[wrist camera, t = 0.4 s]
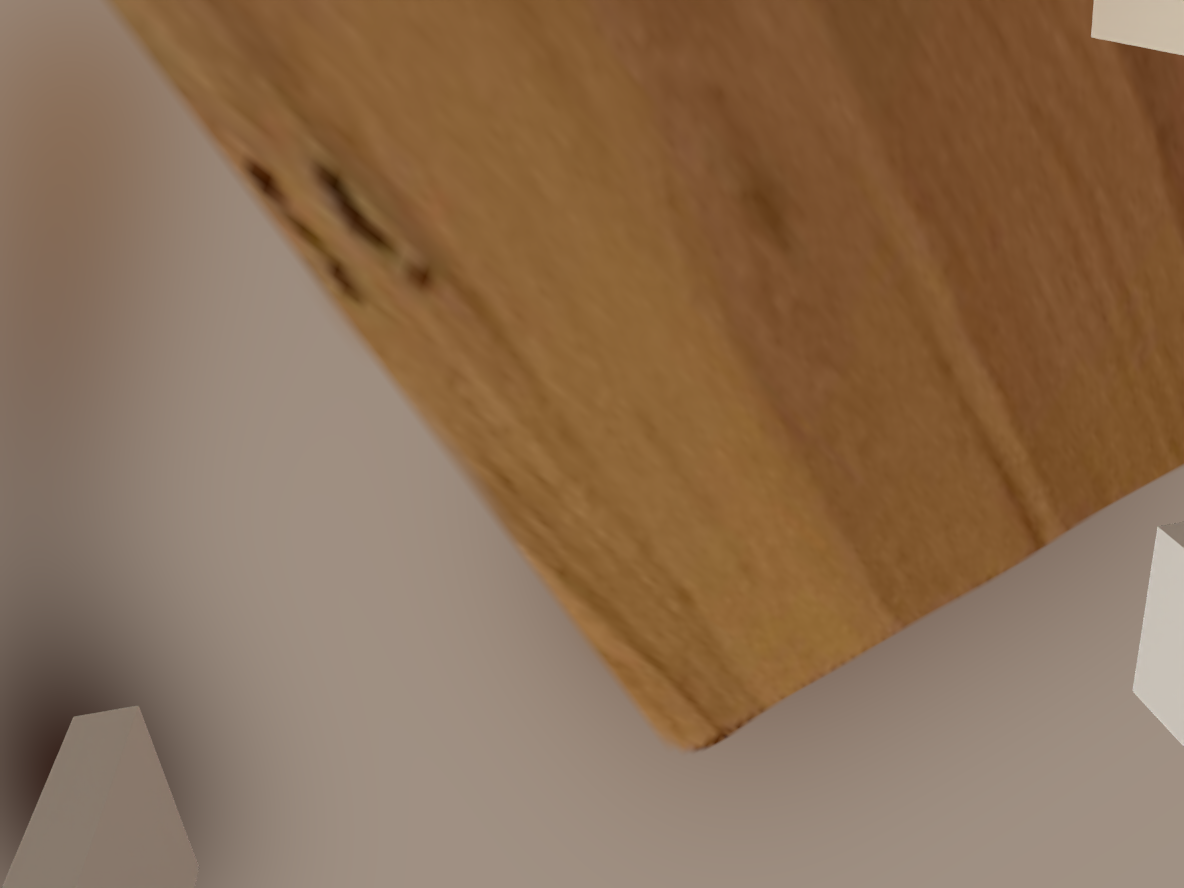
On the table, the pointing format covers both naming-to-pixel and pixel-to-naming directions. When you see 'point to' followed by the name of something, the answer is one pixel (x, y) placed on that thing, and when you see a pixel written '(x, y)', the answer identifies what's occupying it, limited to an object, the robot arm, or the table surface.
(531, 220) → the table surface
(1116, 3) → the block
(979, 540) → the table surface
